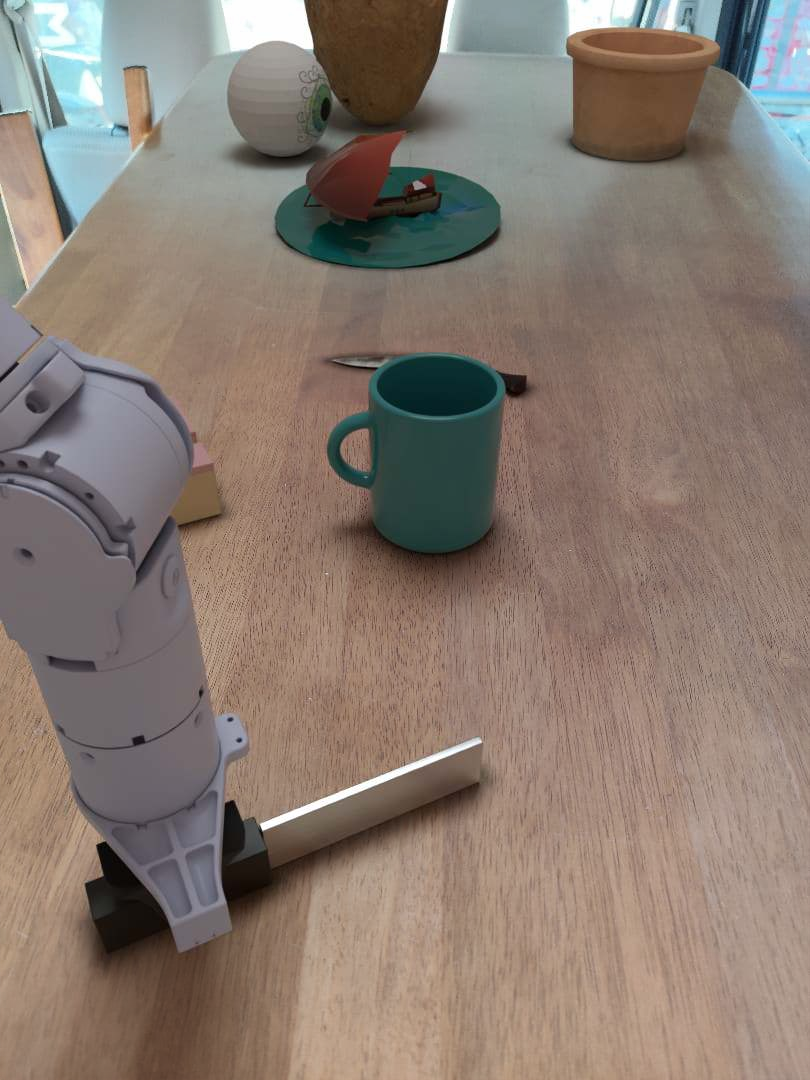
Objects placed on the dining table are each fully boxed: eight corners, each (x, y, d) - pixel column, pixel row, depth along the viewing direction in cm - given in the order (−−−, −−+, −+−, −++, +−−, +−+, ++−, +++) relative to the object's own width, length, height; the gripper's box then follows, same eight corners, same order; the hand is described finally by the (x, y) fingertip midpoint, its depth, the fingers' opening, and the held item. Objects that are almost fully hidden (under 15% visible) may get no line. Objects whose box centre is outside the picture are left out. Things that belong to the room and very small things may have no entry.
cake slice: (97, 547, 63) (83, 494, 60) (89, 523, 65) (74, 471, 62) (221, 514, 66) (213, 462, 64) (209, 492, 69) (201, 441, 66)
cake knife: (106, 954, 41) (91, 916, 39) (97, 916, 42) (82, 878, 40) (486, 792, 48) (491, 752, 46) (468, 764, 49) (471, 724, 47)
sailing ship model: (256, 197, 120) (243, 109, 112) (453, 166, 125) (455, 80, 118) (306, 297, 100) (295, 200, 93) (536, 255, 106) (545, 160, 98)
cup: (333, 482, 70) (327, 350, 63) (488, 482, 70) (499, 351, 63) (326, 557, 63) (318, 419, 56) (498, 558, 63) (512, 420, 56)
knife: (322, 364, 82) (337, 343, 86) (323, 379, 83) (338, 357, 87) (524, 383, 79) (530, 360, 83) (523, 397, 80) (529, 374, 84)
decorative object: (293, 177, 126) (285, 58, 117) (211, 158, 132) (198, 44, 123) (354, 150, 136) (351, 39, 127) (275, 135, 142) (267, 27, 133)
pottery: (696, 173, 129) (719, 62, 120) (544, 158, 134) (555, 50, 125) (701, 133, 145) (722, 32, 136) (565, 121, 150) (577, 23, 141)
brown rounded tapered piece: (469, 116, 152) (478, -61, 136) (415, 152, 136) (419, -44, 120) (349, 100, 159) (345, -70, 143) (285, 133, 143) (273, -55, 127)
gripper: (299, 797, 30) (319, 985, 38) (181, 545, 40) (218, 739, 48) (82, 883, 27) (155, 1064, 36) (15, 592, 37) (85, 787, 46)
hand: (182, 882), depth 42 cm, fingers closed
